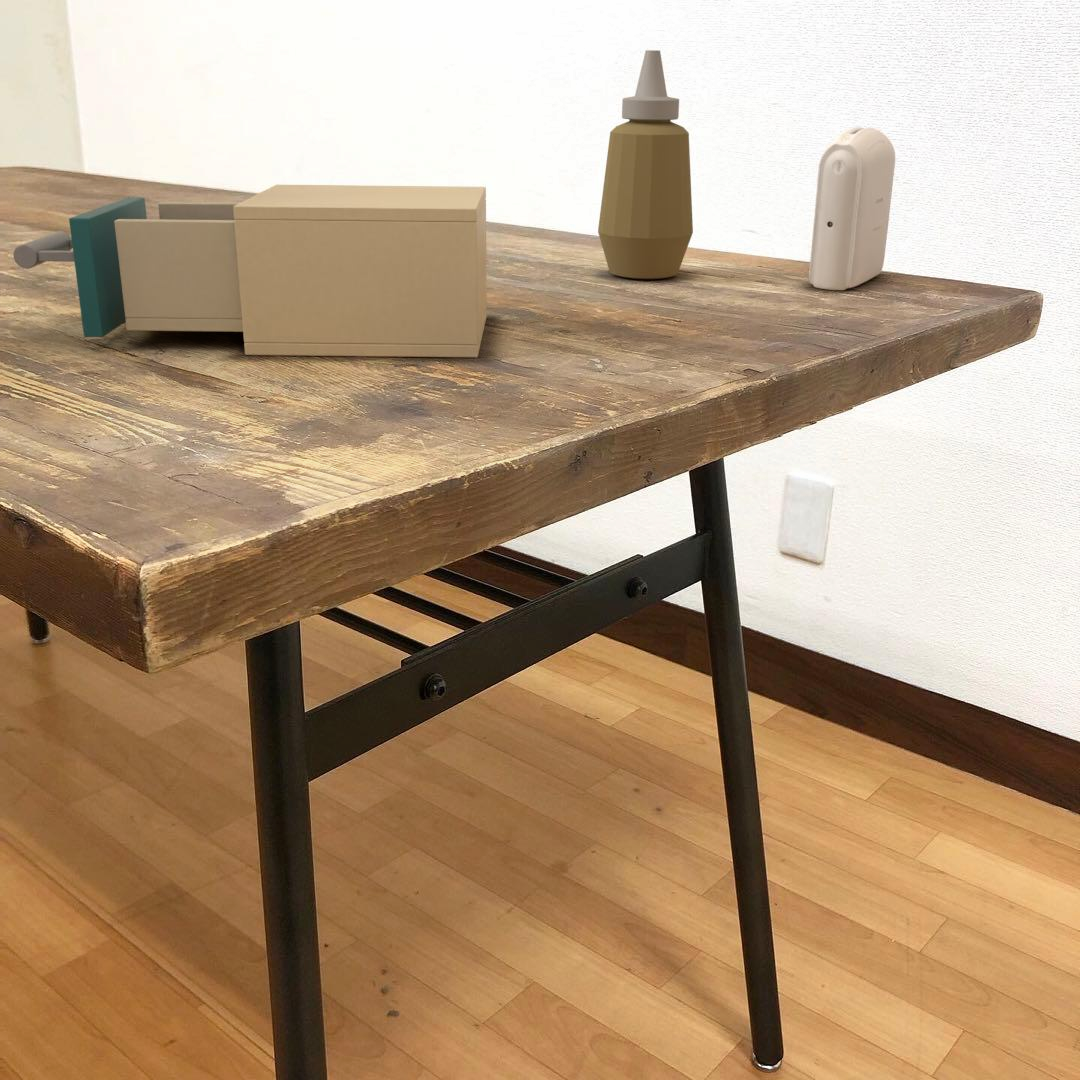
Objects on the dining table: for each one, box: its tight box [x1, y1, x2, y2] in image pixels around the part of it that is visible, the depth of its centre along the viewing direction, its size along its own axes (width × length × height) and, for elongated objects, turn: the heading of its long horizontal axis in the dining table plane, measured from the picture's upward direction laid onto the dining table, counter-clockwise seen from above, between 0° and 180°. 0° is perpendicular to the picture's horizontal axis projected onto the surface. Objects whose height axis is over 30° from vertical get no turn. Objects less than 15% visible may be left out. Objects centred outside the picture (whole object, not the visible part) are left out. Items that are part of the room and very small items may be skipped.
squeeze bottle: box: [597, 49, 694, 280], centre depth 103 cm, size 8×8×18 cm
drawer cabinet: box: [233, 184, 488, 358], centre depth 81 cm, size 15×13×9 cm
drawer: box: [13, 196, 243, 338], centre depth 81 cm, size 18×11×7 cm, turn 90°
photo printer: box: [808, 126, 896, 291], centre depth 102 cm, size 10×4×12 cm, turn 149°
